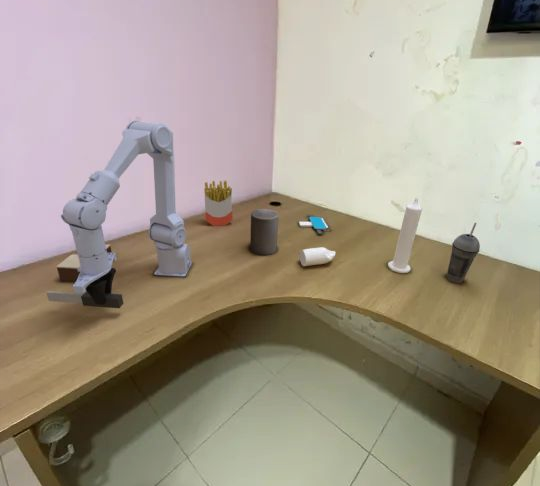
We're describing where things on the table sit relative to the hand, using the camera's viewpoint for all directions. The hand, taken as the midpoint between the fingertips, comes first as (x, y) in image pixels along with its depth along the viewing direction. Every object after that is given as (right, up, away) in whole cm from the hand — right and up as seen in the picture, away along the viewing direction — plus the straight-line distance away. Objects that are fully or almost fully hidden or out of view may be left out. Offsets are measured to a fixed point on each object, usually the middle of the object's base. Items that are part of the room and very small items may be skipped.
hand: (103, 300), depth 75 cm
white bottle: (+57, +6, +29) cm, 64 cm away
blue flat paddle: (+59, +19, +58) cm, 85 cm away
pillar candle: (+38, +10, +37) cm, 54 cm away
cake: (-15, +4, +17) cm, 23 cm away
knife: (-5, -1, +1) cm, 5 cm away
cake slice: (-15, +8, +25) cm, 30 cm away
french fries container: (+19, +20, +55) cm, 62 cm away
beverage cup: (+100, +1, +23) cm, 102 cm away
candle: (+84, +4, +28) cm, 89 cm away
